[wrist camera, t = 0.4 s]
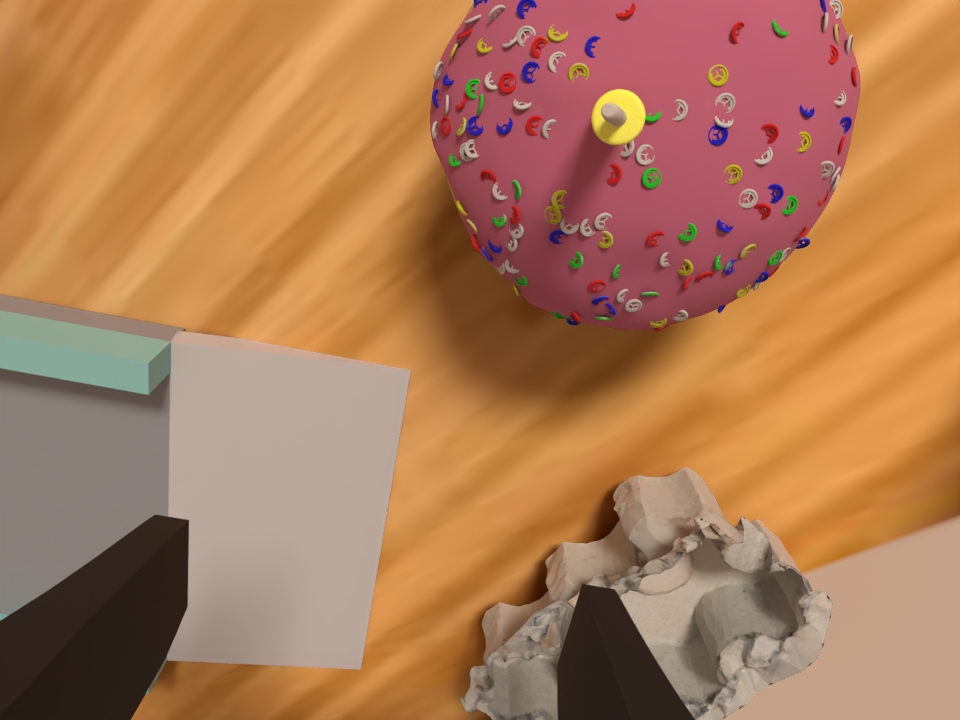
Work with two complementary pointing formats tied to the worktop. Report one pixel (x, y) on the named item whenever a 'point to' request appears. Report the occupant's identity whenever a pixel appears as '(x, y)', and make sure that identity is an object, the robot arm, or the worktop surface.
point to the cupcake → (643, 146)
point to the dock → (200, 475)
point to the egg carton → (663, 606)
